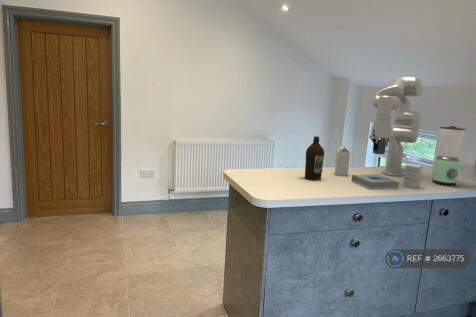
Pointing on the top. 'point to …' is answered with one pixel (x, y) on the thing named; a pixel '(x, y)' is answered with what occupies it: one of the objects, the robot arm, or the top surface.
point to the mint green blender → (448, 155)
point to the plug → (380, 147)
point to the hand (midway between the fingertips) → (379, 149)
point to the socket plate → (375, 181)
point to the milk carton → (342, 161)
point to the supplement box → (412, 176)
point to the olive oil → (314, 160)
